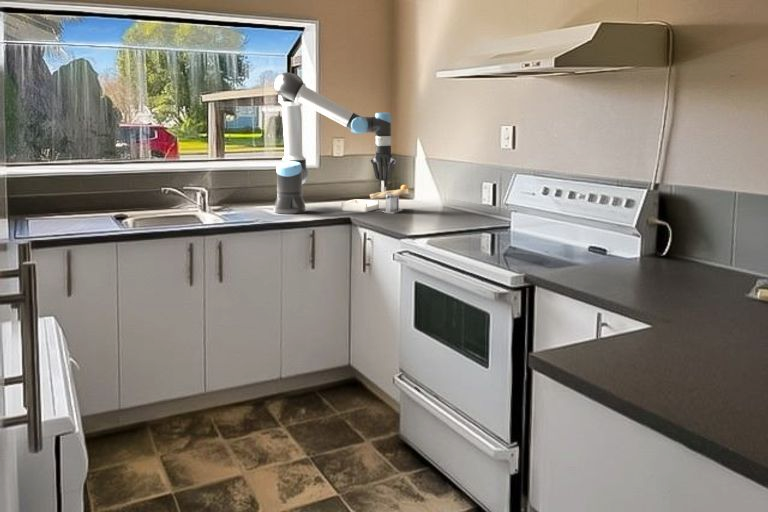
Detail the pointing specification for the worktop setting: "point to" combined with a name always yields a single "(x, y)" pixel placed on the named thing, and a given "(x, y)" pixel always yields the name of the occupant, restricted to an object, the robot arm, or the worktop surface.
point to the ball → (404, 187)
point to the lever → (392, 193)
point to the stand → (392, 204)
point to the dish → (360, 205)
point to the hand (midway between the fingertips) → (383, 193)
